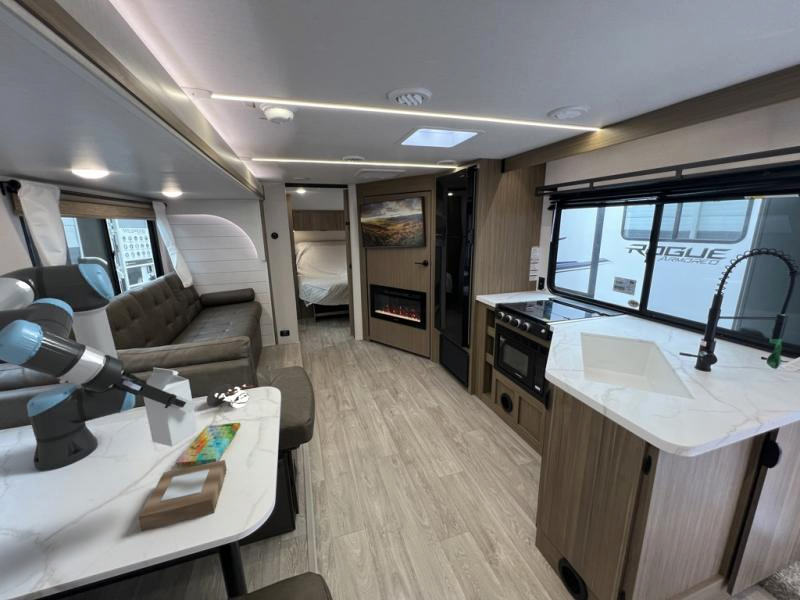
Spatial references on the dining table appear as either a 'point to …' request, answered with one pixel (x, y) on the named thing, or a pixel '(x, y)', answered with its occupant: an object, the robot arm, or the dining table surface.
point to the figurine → (228, 396)
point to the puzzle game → (208, 445)
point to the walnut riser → (184, 495)
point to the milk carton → (169, 409)
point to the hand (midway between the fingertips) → (184, 404)
